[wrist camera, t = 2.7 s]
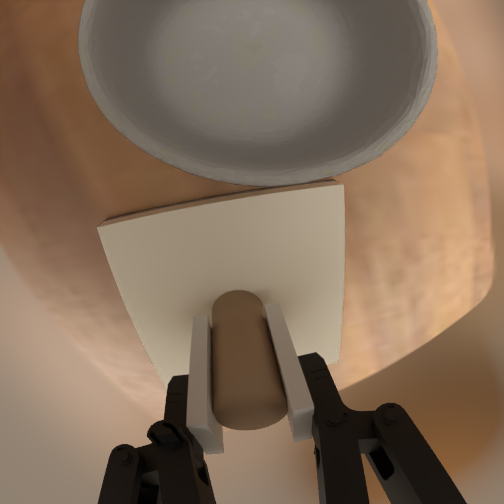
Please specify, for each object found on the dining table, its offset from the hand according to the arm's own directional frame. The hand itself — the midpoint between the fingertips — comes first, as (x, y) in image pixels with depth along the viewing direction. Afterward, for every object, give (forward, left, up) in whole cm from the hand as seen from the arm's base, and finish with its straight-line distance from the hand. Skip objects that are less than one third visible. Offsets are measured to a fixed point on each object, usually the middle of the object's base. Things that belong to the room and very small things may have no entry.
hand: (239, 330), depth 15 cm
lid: (0, 0, -3) cm, 3 cm away
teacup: (-15, +2, -3) cm, 15 cm away
